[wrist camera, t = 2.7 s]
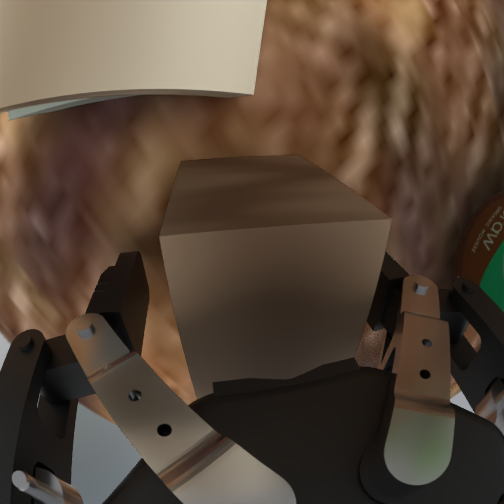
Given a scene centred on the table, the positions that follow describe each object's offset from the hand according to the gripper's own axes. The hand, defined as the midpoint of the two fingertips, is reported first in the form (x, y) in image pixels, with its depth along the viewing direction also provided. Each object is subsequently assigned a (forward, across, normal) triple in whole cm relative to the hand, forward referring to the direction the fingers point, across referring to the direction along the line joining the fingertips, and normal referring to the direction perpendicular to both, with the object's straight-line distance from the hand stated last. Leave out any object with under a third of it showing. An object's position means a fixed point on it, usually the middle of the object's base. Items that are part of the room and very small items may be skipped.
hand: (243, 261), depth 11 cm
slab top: (-1, +4, -13) cm, 14 cm away
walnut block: (+2, 0, 0) cm, 2 cm away
